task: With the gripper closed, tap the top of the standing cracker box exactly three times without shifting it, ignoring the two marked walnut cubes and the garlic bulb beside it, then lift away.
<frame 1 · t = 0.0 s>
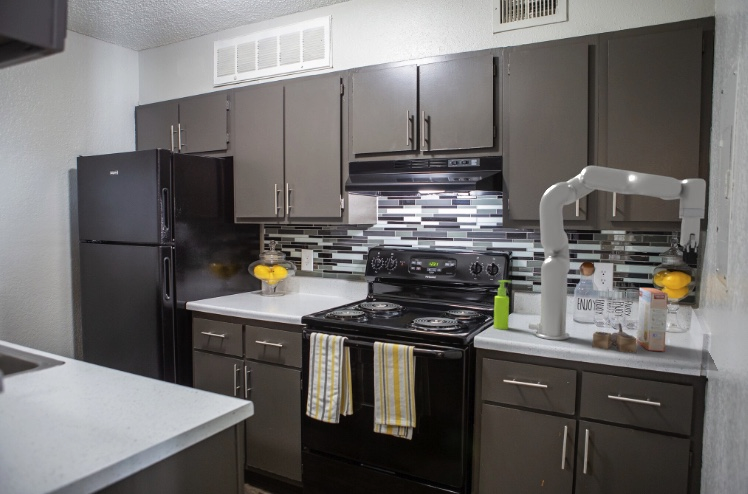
hand: (689, 262, 188), 31 cm above the worktop, tool pointing down, fingers open, 9 cm apart
soap dispenser: (502, 328, 224), on the worktop
marked cube a: (625, 350, 189), on the worktop
garlic bulb: (619, 345, 198), on the worktop
cracker box: (650, 347, 195), on the worktop
marked cube b: (601, 347, 193), on the worktop
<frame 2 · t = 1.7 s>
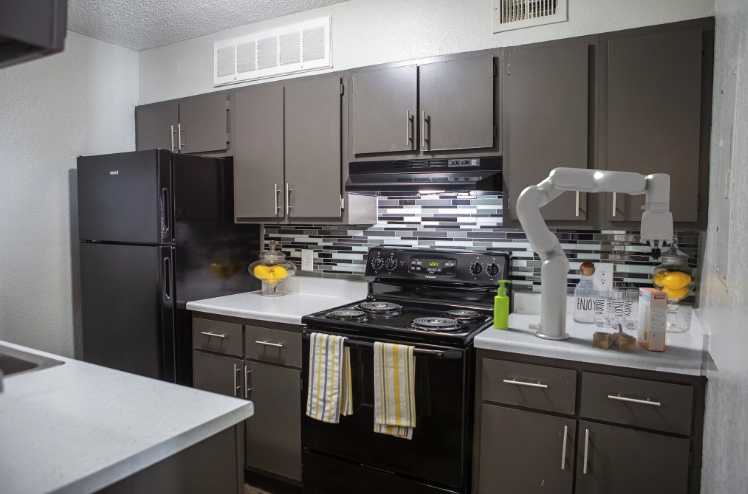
hand: (655, 259, 193), 32 cm above the worktop, tool pointing down, fingers closed
nothing on the worktop moved.
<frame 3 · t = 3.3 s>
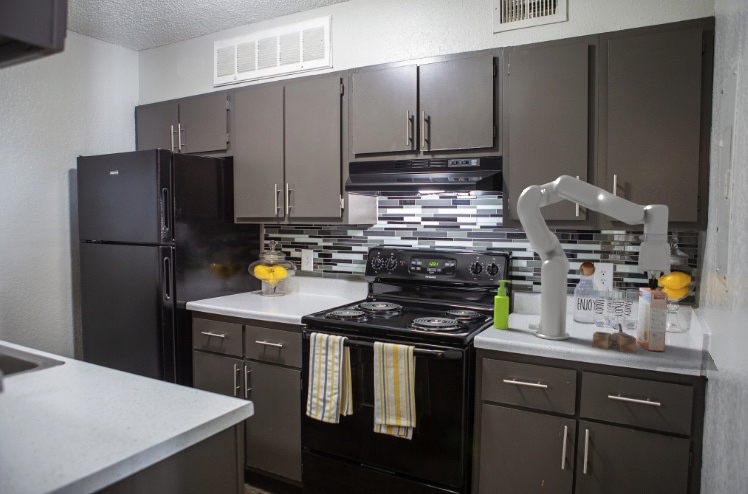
hand: (652, 289, 194), 21 cm above the worktop, tool pointing down, fingers closed
nothing on the worktop moved.
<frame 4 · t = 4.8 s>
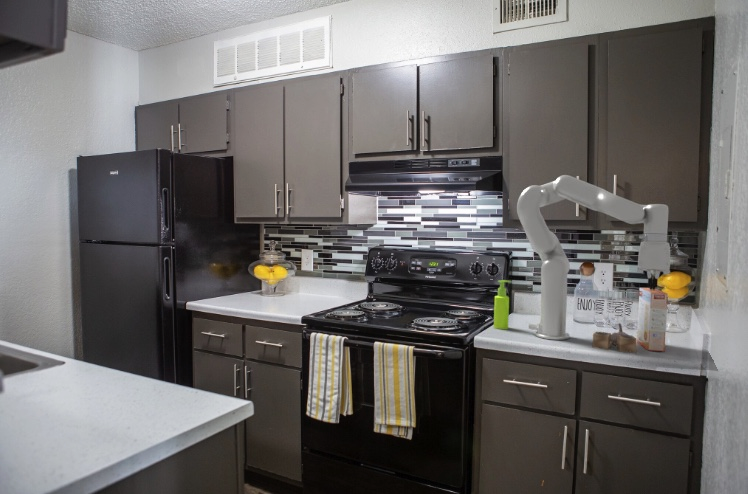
hand: (652, 289, 194), 21 cm above the worktop, tool pointing down, fingers closed
nothing on the worktop moved.
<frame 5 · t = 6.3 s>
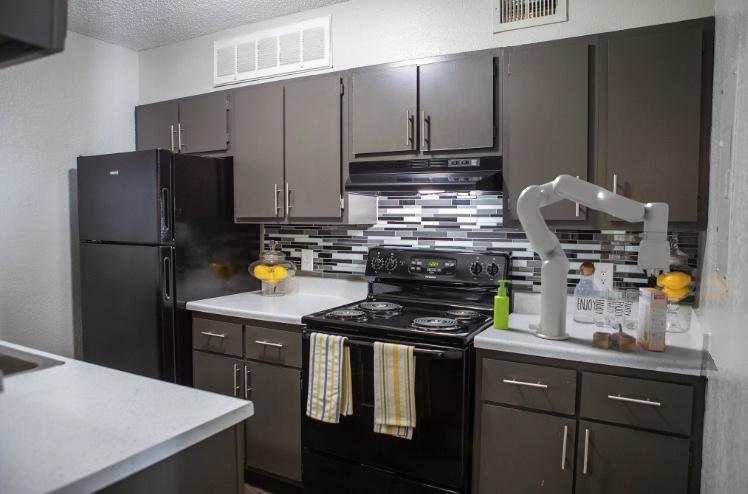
hand: (651, 287, 194), 22 cm above the worktop, tool pointing down, fingers closed
nothing on the worktop moved.
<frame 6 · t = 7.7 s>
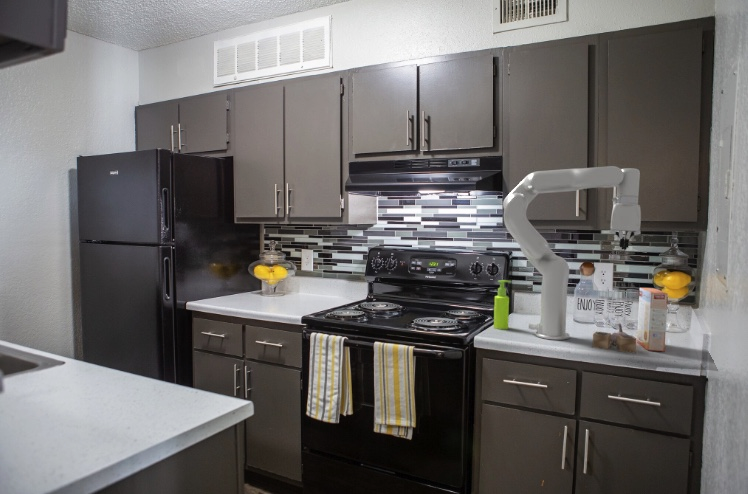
hand: (623, 249, 204), 35 cm above the worktop, tool pointing down, fingers closed
nothing on the worktop moved.
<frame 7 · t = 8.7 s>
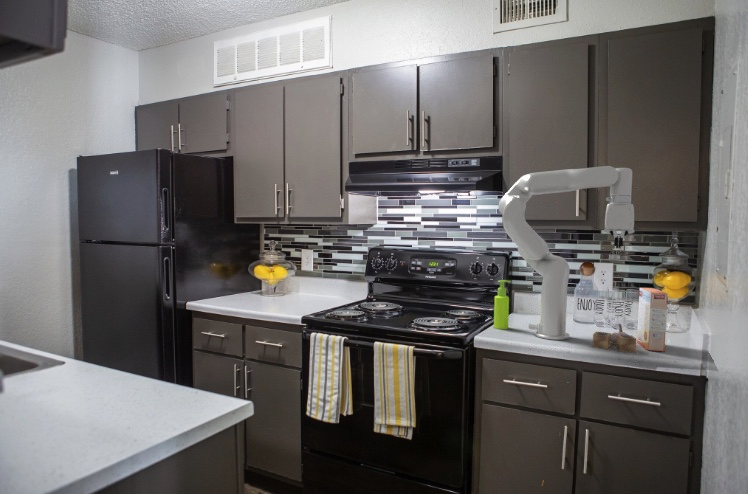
hand: (618, 247, 207), 35 cm above the worktop, tool pointing down, fingers closed
nothing on the worktop moved.
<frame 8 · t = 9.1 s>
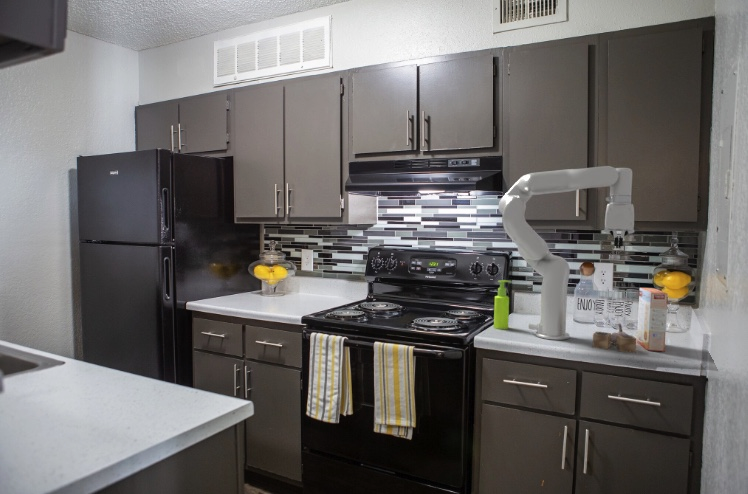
hand: (618, 247, 207), 35 cm above the worktop, tool pointing down, fingers closed
nothing on the worktop moved.
at the end: cracker box moved 0.2 cm from its start; cracker box tilted 0°; garlic bulb moved 0.3 cm from its start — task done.
